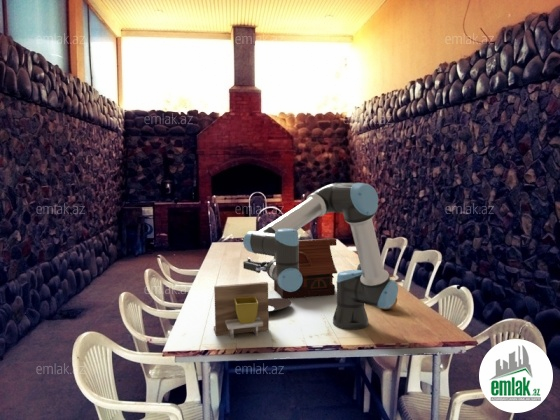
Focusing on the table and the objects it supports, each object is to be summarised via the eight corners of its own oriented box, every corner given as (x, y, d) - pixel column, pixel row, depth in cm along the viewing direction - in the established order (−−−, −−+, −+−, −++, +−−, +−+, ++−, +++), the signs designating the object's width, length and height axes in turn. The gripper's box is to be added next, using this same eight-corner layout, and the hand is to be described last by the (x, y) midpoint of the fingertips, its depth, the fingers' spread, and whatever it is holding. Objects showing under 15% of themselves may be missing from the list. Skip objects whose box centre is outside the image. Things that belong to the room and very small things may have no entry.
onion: (382, 313, 208) (382, 292, 207) (372, 307, 217) (372, 287, 216) (401, 311, 210) (401, 290, 209) (390, 305, 220) (390, 285, 219)
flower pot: (258, 324, 176) (258, 302, 175) (236, 326, 175) (236, 304, 174) (255, 317, 185) (255, 296, 184) (234, 319, 183) (234, 297, 182)
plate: (260, 298, 236) (260, 291, 236) (303, 307, 218) (303, 300, 218) (221, 311, 214) (221, 303, 214) (265, 323, 197) (265, 315, 196)
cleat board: (272, 335, 181) (272, 287, 179) (218, 341, 175) (217, 291, 173) (264, 323, 195) (263, 278, 193) (213, 328, 189) (212, 282, 188)
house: (280, 302, 228) (280, 245, 225) (268, 288, 255) (267, 237, 253) (345, 296, 236) (345, 242, 234) (326, 283, 264) (326, 235, 261)
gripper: (244, 284, 151) (233, 271, 172) (313, 279, 158) (296, 266, 178) (243, 262, 151) (233, 251, 171) (313, 258, 157) (295, 248, 178)
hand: (265, 259), depth 175 cm, fingers open, 13 cm apart
